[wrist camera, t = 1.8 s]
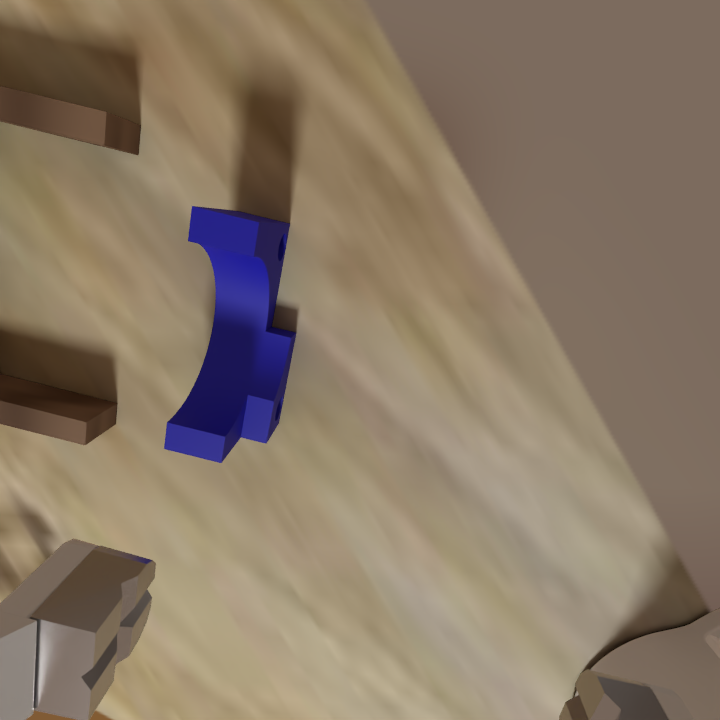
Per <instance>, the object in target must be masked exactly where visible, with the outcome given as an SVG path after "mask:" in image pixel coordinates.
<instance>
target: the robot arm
mask: <svg viewBox="0 0 720 720" xmlns="http://www.w3.org/2000/svg"><path fill="white" fill-rule="evenodd" d="M155 567H156V563H155V562H154V561H153V560H150V559H146V558H143V557H139V556H136V555H132V554H129V553H125V552H121V551H118V550H114V549H111V548H107V547H104V546H98V545H94V544H91V543H87V542H84V541H80V540H77V539H72V540H70V541H67V542H65V543H64V544H62V545H61V546H60V547H59V548H58V549H57V550H56V551H55V552H54V553H53V554H52V555H51V556H50V557H49V558H48V559H47V560H46V561H44V562H43V563H42V564H41V565H40V566H39V567H38V568H37V569H36V570H35V571H34V572H33V573H32V574H31V575H30V576H29V577H28V578H27V579H25V580H24V581H23V582H22V583H21V584H20V585H19V586H18V587H17V588H16V589H15V590H14V591H13V592H12V593H11V594H10V595H9V596H8V597H6V598H5V599H4V600H3V601H2V602H1V603H0V720H25V719H27V718H28V717H30V716H31V715H32V714H33V710H35V711H40V712H45V713H49V714H54V715H58V716H63V717H68V718H72V719H77V720H89V719H90V718H91V716H92V715H93V713H94V711H95V710H96V708H97V707H98V705H99V703H100V702H101V700H102V699H103V697H104V695H105V694H106V692H107V691H108V689H109V687H110V686H111V684H112V683H113V681H114V673H115V665H116V664H117V663H118V662H120V661H122V660H123V659H125V658H127V657H128V656H129V655H130V654H131V652H132V650H133V649H134V647H135V645H136V644H137V642H138V640H139V638H140V636H141V633H142V631H143V629H144V627H145V624H146V622H147V619H148V615H149V612H150V608H151V601H152V597H151V595H150V594H149V592H148V590H147V588H148V587H149V585H150V584H151V582H152V581H153V580H154V578H155ZM575 686H576V689H577V691H576V694H575V697H574V698H572V699H570V700H569V701H567V702H565V705H564V707H563V709H562V712H561V714H560V716H559V720H720V608H719V609H716V610H715V611H712V612H710V613H708V614H707V615H705V616H703V617H701V618H699V619H698V620H696V621H694V622H693V623H691V624H689V625H686V626H683V627H679V628H675V629H670V630H665V631H661V632H656V633H652V634H649V635H646V636H642V637H640V638H637V639H634V640H632V641H630V642H628V643H625V644H623V645H622V646H620V647H618V648H616V649H615V650H613V651H611V652H610V653H608V654H607V655H606V656H604V657H603V658H602V659H601V660H599V661H598V662H597V663H596V664H595V665H594V666H593V667H592V668H591V669H590V670H588V669H587V670H585V671H584V672H582V673H580V675H579V677H578V679H577V681H576V683H575Z"/></svg>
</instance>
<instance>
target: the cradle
mask: <svg viewBox="0 0 720 720" xmlns="http://www.w3.org/2000/svg"><path fill="white" fill-rule="evenodd" d="M0 121H1V122H5V123H9V124H13V125H17V126H21V127H26V128H30V129H34V130H38V131H42V132H46V133H50V134H54V135H58V136H62V137H66V138H70V139H74V140H78V141H83V142H87V143H91V144H95V145H99V146H103V147H107V148H111V149H115V150H119V151H123V152H127V153H131V154H136V155H138V151H139V140H140V128H141V125H138V124H136V123H133V122H131V121H128V120H126V119H123V118H121V117H118V116H116V115H113V114H111V113H108V112H105V111H101V110H97V109H93V108H89V107H85V106H81V105H77V104H72V103H68V102H64V101H60V100H56V99H52V98H48V97H44V96H40V95H36V94H32V93H27V92H23V91H19V90H15V89H11V88H7V87H3V86H0ZM116 412H117V403H114V402H110V401H106V400H102V399H98V398H94V397H90V396H86V395H82V394H78V393H74V392H70V391H66V390H62V389H58V388H54V387H50V386H46V385H42V384H38V383H34V382H30V381H27V380H23V379H19V378H15V377H11V376H7V375H3V374H0V424H3V425H7V426H11V427H15V428H19V429H23V430H27V431H31V432H35V433H39V434H43V435H47V436H51V437H55V438H59V439H63V440H67V441H70V442H74V443H78V444H82V445H86V444H88V443H89V442H90V441H92V440H93V439H95V438H96V437H98V436H99V435H101V434H102V433H104V432H105V431H106V430H108V429H109V428H111V427H112V426H114V425H115V424H116Z"/></svg>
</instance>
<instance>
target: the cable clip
mask: <svg viewBox="0 0 720 720" xmlns="http://www.w3.org/2000/svg"><path fill="white" fill-rule="evenodd" d="M289 227H290V224H289V223H285V222H281V221H277V220H272V219H268V218H264V217H260V216H256V215H252V214H247V213H243V212H239V211H232V210H223V209H214V208H204V207H195V206H192V212H191V220H190V229H189V238H188V241H190V242H194V243H198V244H200V245H201V246H202V247H203V248H204V249H205V250H206V252H207V253H208V255H209V257H210V260H211V263H212V266H213V270H214V276H215V285H216V304H215V315H214V323H213V328H212V334H211V338H210V342H209V346H208V350H207V353H206V357H205V359H204V362H203V365H202V368H201V371H200V373H199V375H198V378H197V380H196V382H195V384H194V386H193V388H192V390H191V392H190V394H189V396H188V397H187V399H186V401H185V402H184V404H183V405H182V407H181V408H180V409H179V410H178V412H177V413H176V414H175V415H174V416H173V417H172V418H171V419H170V420H169V421H168V422H167V429H166V437H165V446H164V449H167V450H171V451H175V452H179V453H183V454H187V455H191V456H195V457H199V458H203V459H207V460H211V461H215V462H219V463H222V461H223V460H224V459H225V457H226V456H227V455H228V453H229V452H230V451H231V449H232V448H233V447H234V445H235V444H236V443H237V442H238V440H239V439H240V438H241V437H242V438H246V439H250V440H254V441H258V442H262V443H267V441H268V440H269V438H270V437H271V435H272V433H273V432H274V430H275V428H276V427H277V425H278V424H279V419H280V414H281V409H282V404H283V399H284V394H285V389H286V383H287V378H288V373H289V368H290V363H291V358H292V352H293V347H294V342H295V337H296V333H295V332H291V331H287V330H283V329H279V328H275V327H272V323H273V317H274V311H275V306H276V300H277V294H278V289H279V283H280V277H281V272H282V266H283V260H284V255H285V249H286V244H287V238H288V232H289Z"/></svg>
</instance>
